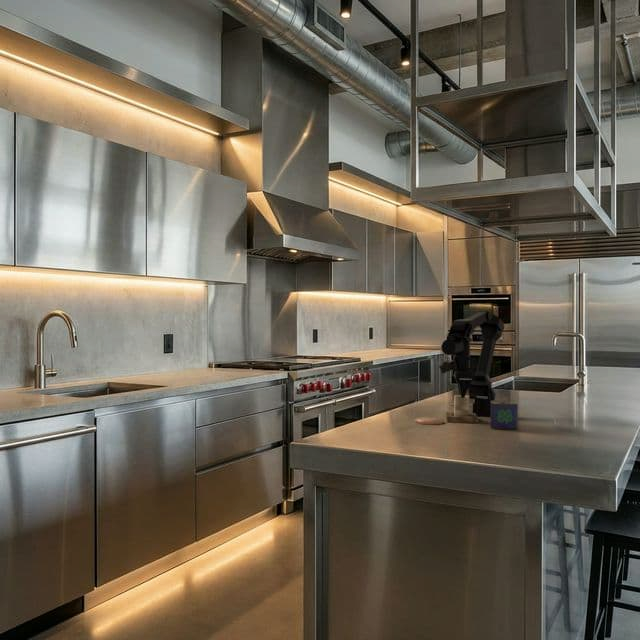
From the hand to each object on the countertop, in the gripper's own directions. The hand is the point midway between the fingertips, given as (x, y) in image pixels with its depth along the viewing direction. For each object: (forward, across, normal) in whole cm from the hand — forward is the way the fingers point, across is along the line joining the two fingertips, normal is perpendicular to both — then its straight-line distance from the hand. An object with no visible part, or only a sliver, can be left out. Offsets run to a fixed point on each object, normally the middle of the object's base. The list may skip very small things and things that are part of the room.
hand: (461, 396), depth 231 cm
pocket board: (+9, 0, 0) cm, 9 cm away
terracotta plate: (+9, +7, -12) cm, 17 cm away
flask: (+9, +16, +13) cm, 23 cm away
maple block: (+9, 0, 0) cm, 9 cm away
